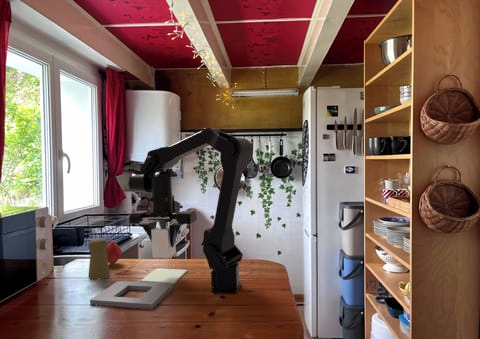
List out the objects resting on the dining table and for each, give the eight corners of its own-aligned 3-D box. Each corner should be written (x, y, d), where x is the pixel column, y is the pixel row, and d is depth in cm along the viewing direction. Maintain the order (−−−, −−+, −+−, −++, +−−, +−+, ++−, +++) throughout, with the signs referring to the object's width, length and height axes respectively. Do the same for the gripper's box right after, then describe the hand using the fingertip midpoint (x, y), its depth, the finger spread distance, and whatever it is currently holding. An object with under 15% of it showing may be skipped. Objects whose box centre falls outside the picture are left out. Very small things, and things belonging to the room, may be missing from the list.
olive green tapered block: (113, 272, 102) (112, 236, 101) (103, 279, 96) (102, 241, 95) (95, 272, 102) (93, 236, 102) (83, 279, 96) (82, 241, 96)
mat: (187, 271, 101) (187, 269, 101) (174, 283, 91) (174, 282, 91) (156, 269, 103) (156, 268, 103) (140, 281, 93) (140, 280, 93)
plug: (175, 252, 99) (174, 219, 98) (168, 258, 94) (167, 222, 93) (160, 252, 100) (158, 219, 99) (152, 257, 95) (150, 222, 94)
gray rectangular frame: (173, 288, 88) (173, 283, 88) (152, 309, 76) (152, 304, 76) (118, 285, 91) (118, 280, 91) (90, 304, 79) (90, 299, 79)
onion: (99, 266, 107) (98, 242, 107) (111, 261, 113) (109, 237, 112) (114, 268, 106) (113, 243, 105) (125, 262, 111) (124, 238, 111)
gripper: (201, 189, 102) (203, 240, 102) (145, 190, 106) (147, 239, 106) (188, 194, 91) (190, 250, 92) (126, 194, 95) (129, 248, 95)
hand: (164, 246), depth 96 cm, fingers closed on plug, 5 cm apart
